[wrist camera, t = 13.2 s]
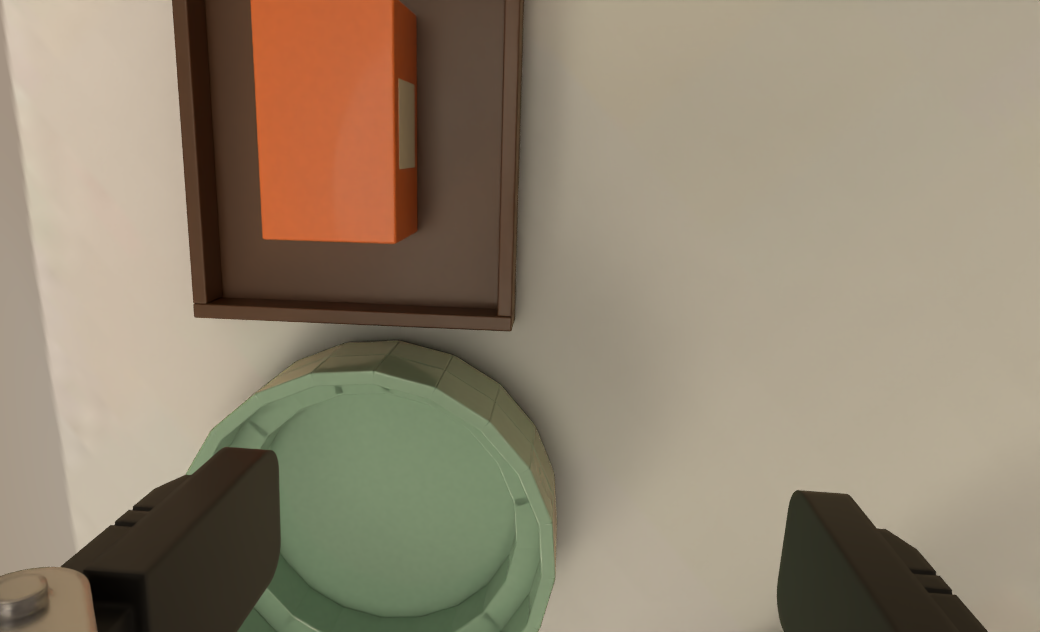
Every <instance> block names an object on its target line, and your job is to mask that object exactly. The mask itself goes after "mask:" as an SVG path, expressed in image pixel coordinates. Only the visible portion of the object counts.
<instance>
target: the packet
mask: <svg viewBox="0 0 1040 632" xmlns="http://www.w3.org/2000/svg"><path fill="white" fill-rule="evenodd" d="M250 2H251V22H252V41H253V61H254V80H255V100H256V119H257V139H258V158H259V178H260V197H261V217H262V236H263V239H265V240H292V241H321V242H350V243H379V244H396V243H398V242H399V241H401V240H403V239H405V238H407V237H408V236H410V235H412V234H414V233H416V232H417V27H416V15H415V14H414V13H413V12H412V11H411V10H409V9H408V8H407V7H406V6H405V5H404V4H403V3H401V2H400V1H399V0H250Z"/></svg>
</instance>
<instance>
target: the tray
mask: <svg viewBox="0 0 1040 632" xmlns="http://www.w3.org/2000/svg"><path fill="white" fill-rule="evenodd" d="M399 1H400V2H401V3H403V4H404V5H405V6H406V7H407V8H408V9H409V10H411V11H412V12H413V13H414V14H415V15H416V27H417V232H416V233H414V234H412V235H410V236H408V237H407V238H405V239H403V240H401V241H399V242H398V243H396V244H379V243H350V242H321V241H292V240H265V239H263V236H262V217H261V197H260V178H259V158H258V139H257V119H256V100H255V80H254V61H253V41H252V22H251V2H250V0H172V6H173V20H174V34H175V48H176V63H177V77H178V91H179V105H180V119H181V133H182V148H183V162H184V176H185V190H186V204H187V218H188V233H189V247H190V261H191V275H192V289H193V302H194V303H195V304H194V317H196V318H218V319H241V320H264V321H287V322H310V323H332V324H355V325H378V326H401V327H424V328H447V329H469V330H492V331H511V330H512V327H513V323H514V320H515V292H516V258H517V223H518V189H519V154H520V119H521V85H522V50H523V15H524V0H399Z"/></svg>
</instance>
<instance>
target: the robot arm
mask: <svg viewBox="0 0 1040 632" xmlns="http://www.w3.org/2000/svg"><path fill="white" fill-rule="evenodd" d="M280 547H281V529H280V491H279V464H278V459H277V456H276V453H275V452H274V451H273V450H263V449H250V448H236V447H223V448H222V449H220V450H219V451H218V452H217V453H216V454H215V455H214V456H212V457H211V458H210V459H209V460H208V461H207V462H206V463H204V464H203V465H202V466H201V467H200V468H199V469H198V470H196V471H195V472H194V473H193V474H192V475H184V476H182V477H180V478H177V479H175V480H173V481H171V482H168V483H166V484H164V485H162V486H160V487H157V488H155V489H154V490H153V491H151V492H150V493H149V494H148V495H146V496H145V497H144V498H143V499H142V500H140V501H139V502H138V503H137V504H136V505H134V506H133V510H128V511H127V512H126V513H125V514H124V515H122V516H121V517H120V518H119V519H118V520H116V521H115V525H110V526H109V527H108V528H107V529H105V530H104V531H103V532H102V533H101V534H99V535H98V536H97V537H96V538H95V539H93V540H92V541H91V542H90V543H89V544H87V545H86V546H85V547H84V548H83V549H81V550H80V551H79V552H78V553H76V554H75V555H74V556H73V557H72V558H70V559H69V560H68V561H67V562H66V563H64V564H63V565H62V566H61V567H40V568H31V569H26V570H20V571H16V572H12V573H8V574H5V575H2V576H0V632H237V631H238V630H239V628H240V627H241V625H242V624H243V622H244V621H245V619H246V618H247V616H248V615H249V613H250V612H251V611H252V609H253V608H254V606H255V605H256V603H257V602H258V600H259V599H260V597H261V596H262V594H263V593H264V592H265V590H266V589H267V587H268V586H269V584H270V582H271V581H272V579H273V577H274V574H275V571H276V568H277V565H278V560H279V555H280ZM777 605H778V613H779V618H780V622H781V626H782V628H783V631H784V632H988V631H987V630H986V629H985V628H984V627H983V626H982V624H981V623H980V622H979V621H978V620H977V619H976V617H975V616H974V615H973V614H972V613H971V612H970V610H969V609H968V608H967V607H966V606H965V605H964V604H963V602H962V601H961V600H960V599H959V598H958V597H957V595H952V590H951V588H950V587H949V586H948V585H947V584H946V583H945V582H944V580H943V579H942V578H941V577H940V576H936V571H935V570H934V569H933V568H932V566H931V565H930V564H929V563H928V562H927V561H926V559H925V558H924V557H923V556H922V555H921V554H920V553H919V551H918V550H917V549H915V548H914V547H912V546H911V545H909V544H908V543H906V542H905V541H903V540H902V539H900V538H899V537H897V536H895V535H894V534H892V533H891V532H889V531H888V530H886V529H877V528H876V527H875V526H874V525H873V523H872V522H871V521H870V520H869V518H868V517H867V516H866V515H865V513H864V512H863V511H862V510H861V508H860V507H859V506H858V505H857V503H856V502H855V501H854V500H853V498H852V497H851V496H850V495H848V494H840V493H827V492H814V491H800V490H797V491H795V492H794V493H793V495H792V497H791V499H790V503H789V508H788V515H787V521H786V528H785V535H784V542H783V549H782V556H781V562H780V569H779V576H778V584H777Z"/></svg>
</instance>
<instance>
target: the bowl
mask: <svg viewBox="0 0 1040 632" xmlns="http://www.w3.org/2000/svg"><path fill="white" fill-rule="evenodd" d="M223 447H236V448H250V449H263V450H273V451H274V452H275V453H276V456H277V459H278V464H279V491H280V529H281V547H280V555H279V560H278V565H277V568H276V571H275V574H274V577H273V579H272V581H271V582H270V584H269V586H268V587H267V589H266V590H265V592H264V593H263V594H262V596H261V597H260V599H259V600H258V602H257V603H256V605H255V606H254V608H253V609H252V611H251V612H250V613H249V615H248V616H247V618H246V619H245V621H244V622H243V624H242V625H241V627H240V628H239V630H238V631H237V632H538V631H539V629H540V627H541V624H542V620H543V617H544V614H545V611H546V607H547V604H548V601H549V598H550V594H551V591H552V588H553V585H554V581H555V576H556V538H557V513H556V494H555V474H554V471H553V469H552V466H551V464H550V461H549V459H548V456H547V454H546V451H545V449H544V446H543V444H542V441H541V439H540V436H539V434H538V431H537V429H536V427H535V425H534V424H533V422H532V421H531V420H530V419H529V418H528V417H527V415H526V414H525V413H524V412H523V411H522V409H521V408H520V407H519V406H518V405H517V404H516V402H515V401H514V400H513V399H512V398H511V396H510V395H509V394H508V393H507V392H506V391H505V389H504V388H503V387H502V386H501V385H500V384H499V383H497V382H496V381H494V380H493V379H491V378H489V377H488V376H486V375H485V374H483V373H481V372H480V371H478V370H477V369H475V368H474V367H472V366H470V365H469V364H467V363H466V362H464V361H462V360H461V359H459V358H458V357H456V356H455V355H451V354H447V353H444V352H440V351H436V350H433V349H429V348H425V347H422V346H418V345H414V344H410V343H407V342H403V341H399V340H397V341H372V342H348V343H343V344H340V345H338V346H335V347H332V348H330V349H327V350H324V351H322V352H319V353H316V354H314V355H311V356H308V357H306V358H303V359H300V360H298V361H296V362H294V363H293V364H292V365H291V366H289V367H288V368H287V369H285V370H284V371H283V372H282V373H280V374H279V375H278V376H277V377H275V378H274V379H273V380H271V381H270V382H269V383H268V384H266V385H265V386H264V387H263V388H261V389H260V390H259V391H257V392H256V393H255V394H254V395H252V396H251V397H250V398H249V399H248V400H246V401H245V402H244V403H243V404H242V405H240V406H239V407H238V408H237V409H236V410H234V411H233V412H232V413H231V414H230V415H228V416H227V417H226V418H225V419H224V420H222V421H221V422H220V423H219V424H218V425H216V426H215V427H214V428H213V429H212V430H211V431H210V433H209V435H208V436H207V438H206V440H205V442H204V443H203V445H202V447H201V449H200V450H199V452H198V454H197V456H196V457H195V459H194V461H193V462H192V464H191V466H190V468H189V469H188V471H187V473H186V475H192V474H193V473H194V472H195V471H196V470H198V469H199V468H200V467H201V466H202V465H203V464H204V463H206V462H207V461H208V460H209V459H210V458H211V457H212V456H214V455H215V454H216V453H217V452H218V451H219V450H220V449H222V448H223Z"/></svg>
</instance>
